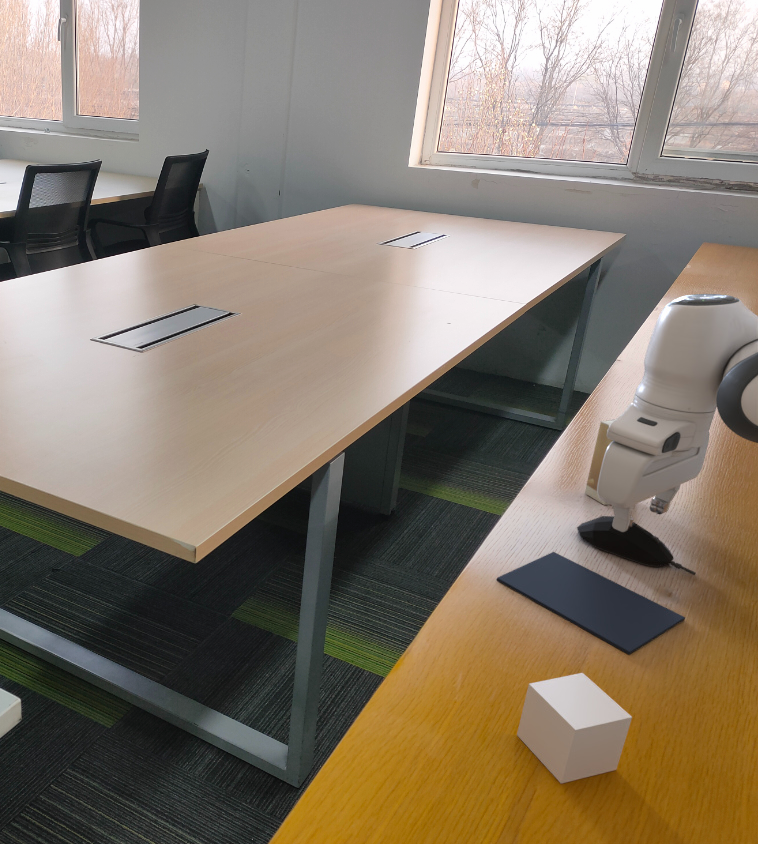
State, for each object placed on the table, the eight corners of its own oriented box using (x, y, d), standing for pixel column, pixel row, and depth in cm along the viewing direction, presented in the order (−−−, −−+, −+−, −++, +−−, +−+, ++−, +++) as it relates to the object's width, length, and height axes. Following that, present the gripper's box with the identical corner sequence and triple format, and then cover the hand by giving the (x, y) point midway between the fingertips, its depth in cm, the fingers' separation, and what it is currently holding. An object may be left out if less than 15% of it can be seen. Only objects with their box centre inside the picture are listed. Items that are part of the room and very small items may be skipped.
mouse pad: (684, 620, 93) (685, 617, 93) (629, 654, 87) (630, 651, 87) (552, 554, 106) (553, 551, 106) (496, 580, 100) (496, 577, 100)
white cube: (516, 735, 75) (528, 683, 73) (569, 723, 77) (582, 672, 75) (561, 784, 70) (575, 729, 68) (616, 770, 71) (632, 716, 69)
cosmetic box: (614, 488, 125) (633, 416, 121) (636, 501, 122) (656, 426, 117) (581, 493, 123) (599, 419, 119) (603, 506, 120) (622, 430, 115)
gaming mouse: (687, 584, 100) (696, 556, 99) (568, 539, 110) (575, 513, 108) (702, 566, 104) (710, 539, 103) (586, 524, 114) (592, 499, 113)
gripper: (682, 401, 108) (655, 493, 113) (600, 427, 97) (574, 528, 102) (732, 416, 103) (702, 511, 108) (653, 446, 92) (623, 550, 97)
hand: (639, 520), depth 105 cm, fingers open, 8 cm apart
